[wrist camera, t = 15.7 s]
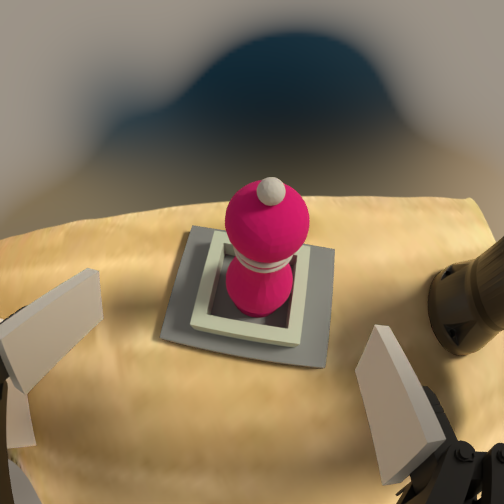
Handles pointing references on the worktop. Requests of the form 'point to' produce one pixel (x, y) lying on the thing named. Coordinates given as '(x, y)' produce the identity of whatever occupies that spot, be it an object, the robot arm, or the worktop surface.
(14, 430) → the white notched cradle block
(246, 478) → the worktop surface
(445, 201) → the worktop surface
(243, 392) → the worktop surface
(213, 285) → the socket board
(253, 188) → the pepper mill
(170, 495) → the worktop surface
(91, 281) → the robot arm
